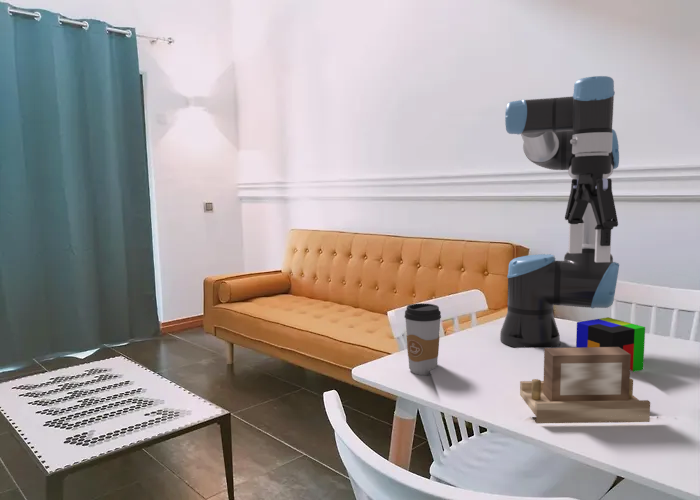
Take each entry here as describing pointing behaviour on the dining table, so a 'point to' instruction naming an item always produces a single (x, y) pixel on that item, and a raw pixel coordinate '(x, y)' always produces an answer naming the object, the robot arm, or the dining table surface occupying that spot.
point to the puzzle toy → (613, 337)
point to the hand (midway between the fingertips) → (587, 257)
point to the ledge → (582, 407)
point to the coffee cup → (422, 337)
